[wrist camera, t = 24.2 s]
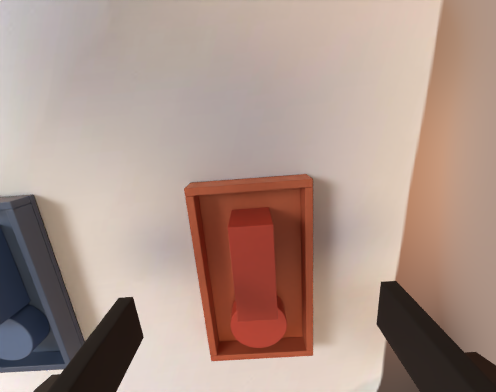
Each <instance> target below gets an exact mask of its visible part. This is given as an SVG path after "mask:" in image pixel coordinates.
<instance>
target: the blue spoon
mask: <svg viewBox="0 0 496 392" xmlns="http://www.w3.org/2000/svg"><path fill="white" fill-rule="evenodd" d="M29 302H30V299H29V296H28V294H27V291H26V289H25V286H24V284H23V281H22V279H21V276H20V274H19V271H18V269H17V266H16V264H15V261H14V259H13V256H12V254H11V251H10V249H9V246H8V244H7V241H6V239H5V236H4V234H3V231H2V229H1V226H0V358H1V359H5V360H19V359H22V358H25V357H26V356H28V355H29V354H30V353H31V352H32V351H33V350H34V349H35V348H36V347H37V346H38V345H39V344H40V343H41V342H42V341H43V340H44V339H45V338H46V337H47V335H48V333H49V322H48V320H47V318H46V317H45V315H44V314H43V313H42V312H41V311H40V310H39V309H37V308H36V307H34V306H32V305H29V304H28V303H29Z"/></svg>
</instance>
